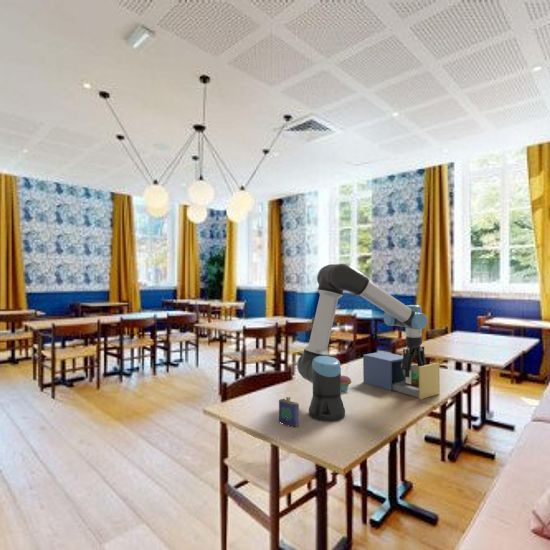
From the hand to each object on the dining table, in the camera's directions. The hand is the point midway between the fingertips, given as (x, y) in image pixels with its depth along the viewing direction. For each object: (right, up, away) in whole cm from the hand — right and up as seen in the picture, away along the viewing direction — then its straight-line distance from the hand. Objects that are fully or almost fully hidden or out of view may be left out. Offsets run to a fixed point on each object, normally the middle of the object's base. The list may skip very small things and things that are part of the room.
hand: (414, 381), depth 187 cm
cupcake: (-35, -6, +5) cm, 35 cm away
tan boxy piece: (0, -5, 0) cm, 5 cm away
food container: (0, -2, 0) cm, 2 cm away
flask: (-64, -6, -39) cm, 75 cm away
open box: (-10, -5, +15) cm, 18 cm away
